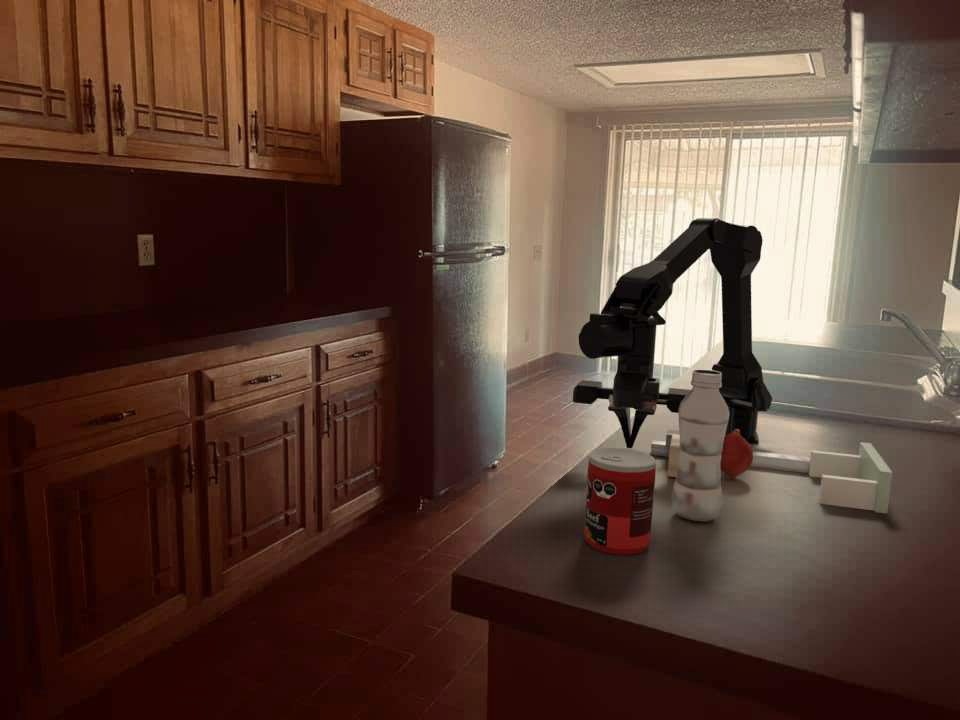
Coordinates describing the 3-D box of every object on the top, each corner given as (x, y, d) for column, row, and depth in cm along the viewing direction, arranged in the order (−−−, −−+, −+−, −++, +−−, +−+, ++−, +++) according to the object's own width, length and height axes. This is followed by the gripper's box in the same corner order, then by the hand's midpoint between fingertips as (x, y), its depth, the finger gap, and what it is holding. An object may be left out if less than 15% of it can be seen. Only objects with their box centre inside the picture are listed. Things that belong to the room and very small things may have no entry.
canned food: (580, 528, 93) (585, 446, 91) (643, 531, 93) (649, 448, 91) (587, 555, 86) (592, 465, 84) (655, 557, 86) (662, 468, 84)
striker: (666, 451, 126) (668, 425, 126) (696, 454, 125) (698, 428, 124) (661, 475, 114) (663, 446, 113) (694, 479, 112) (696, 450, 111)
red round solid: (708, 479, 113) (713, 430, 112) (715, 469, 118) (719, 422, 117) (747, 486, 111) (752, 436, 109) (753, 476, 116) (757, 427, 114)
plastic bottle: (695, 530, 94) (708, 378, 90) (659, 512, 100) (670, 369, 96) (731, 522, 97) (745, 375, 93) (694, 505, 103) (706, 365, 99)
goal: (807, 472, 118) (812, 437, 117) (866, 479, 115) (870, 443, 114) (820, 505, 104) (825, 465, 103) (887, 513, 101) (892, 472, 100)
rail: (651, 450, 127) (652, 439, 127) (846, 473, 118) (847, 461, 118) (650, 454, 125) (651, 443, 125) (848, 478, 116) (850, 466, 116)
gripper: (568, 356, 111) (563, 455, 114) (695, 367, 106) (687, 469, 108) (581, 346, 122) (576, 436, 124) (697, 355, 116) (689, 449, 119)
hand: (629, 447), depth 119 cm, fingers closed
